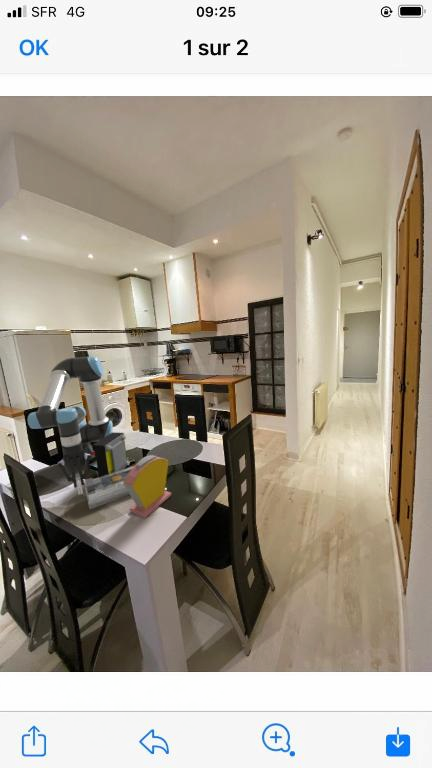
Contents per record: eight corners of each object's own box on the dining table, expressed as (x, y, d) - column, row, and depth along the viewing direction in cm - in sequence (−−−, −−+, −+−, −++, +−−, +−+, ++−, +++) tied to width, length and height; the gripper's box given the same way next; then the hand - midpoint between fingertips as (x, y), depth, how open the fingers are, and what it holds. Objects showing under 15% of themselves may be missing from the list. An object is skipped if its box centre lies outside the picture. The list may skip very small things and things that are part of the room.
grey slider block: (86, 488, 117) (85, 479, 116) (100, 484, 120) (99, 475, 119) (88, 496, 111) (86, 486, 110) (102, 491, 114) (101, 482, 113)
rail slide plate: (86, 494, 120) (83, 480, 119) (139, 475, 134) (138, 463, 132) (89, 509, 108) (87, 495, 107) (148, 487, 122) (146, 474, 121)
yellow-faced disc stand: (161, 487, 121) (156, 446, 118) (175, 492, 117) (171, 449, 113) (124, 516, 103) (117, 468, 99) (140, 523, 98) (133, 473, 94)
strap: (101, 482, 120) (101, 479, 119) (134, 473, 128) (134, 469, 128) (103, 489, 114) (103, 485, 114) (137, 478, 123) (137, 475, 122)
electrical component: (113, 481, 129) (107, 445, 126) (96, 480, 132) (90, 445, 128) (131, 464, 146) (126, 432, 143) (115, 464, 148) (111, 432, 145)
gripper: (53, 450, 101) (63, 502, 105) (89, 442, 108) (97, 491, 112) (53, 445, 108) (63, 494, 112) (87, 437, 114) (95, 483, 119)
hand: (80, 492), depth 112 cm, fingers closed
